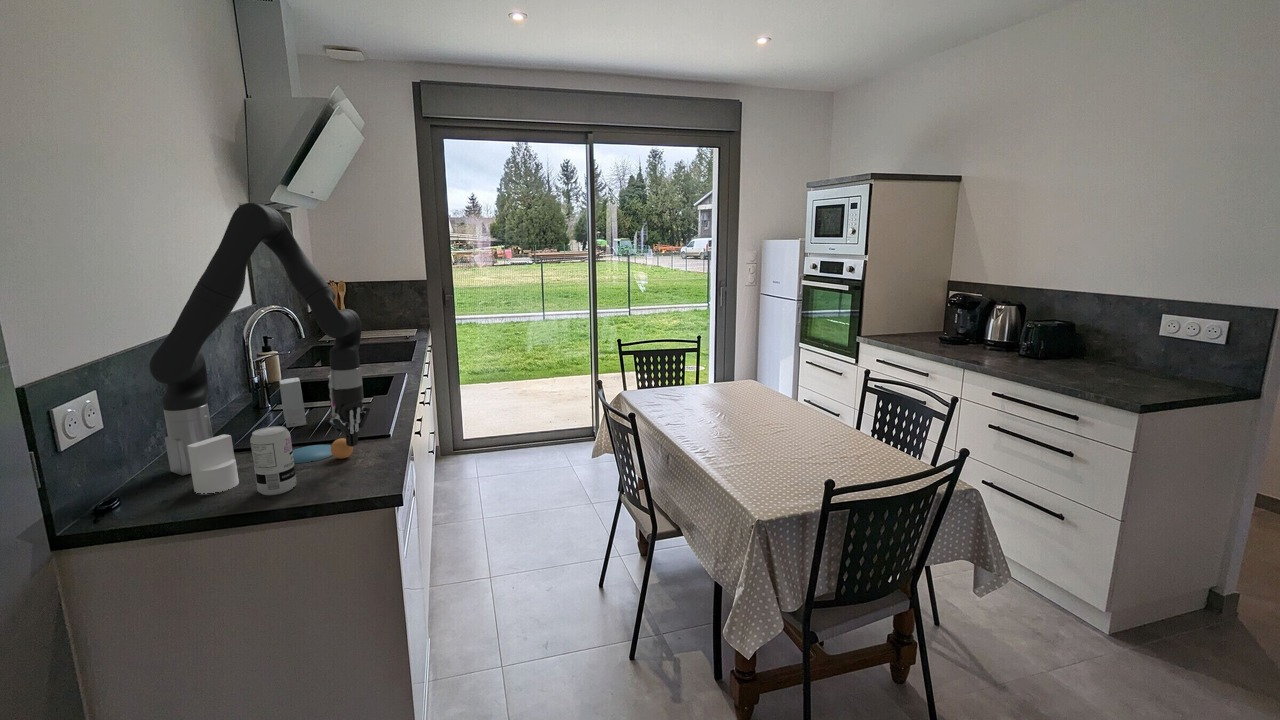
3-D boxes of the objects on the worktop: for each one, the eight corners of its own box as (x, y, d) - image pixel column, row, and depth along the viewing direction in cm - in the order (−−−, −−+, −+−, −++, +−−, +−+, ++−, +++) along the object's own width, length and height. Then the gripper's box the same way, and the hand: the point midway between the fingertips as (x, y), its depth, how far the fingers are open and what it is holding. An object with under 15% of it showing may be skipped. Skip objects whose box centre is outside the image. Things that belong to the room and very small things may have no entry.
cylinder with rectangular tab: (223, 477, 151) (216, 432, 148) (247, 482, 147) (240, 437, 145) (185, 491, 142) (177, 444, 140) (210, 496, 139) (202, 448, 137)
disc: (302, 466, 157) (301, 465, 157) (271, 457, 164) (270, 457, 164) (348, 450, 169) (348, 449, 169) (318, 442, 176) (318, 441, 176)
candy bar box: (349, 423, 194) (343, 375, 191) (332, 425, 192) (326, 376, 189) (352, 414, 204) (347, 368, 201) (336, 415, 203) (331, 369, 199)
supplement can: (254, 489, 143) (245, 430, 140) (291, 479, 149) (284, 423, 146) (262, 499, 138) (253, 438, 135) (301, 489, 143) (293, 430, 140)
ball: (331, 439, 159) (322, 452, 161) (346, 454, 159) (337, 465, 162) (346, 431, 164) (337, 442, 167) (360, 444, 164) (352, 456, 167)
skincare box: (307, 425, 192) (301, 381, 189) (285, 428, 189) (279, 383, 186) (304, 418, 199) (299, 376, 196) (284, 421, 196) (278, 378, 193)
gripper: (354, 377, 165) (359, 436, 168) (315, 388, 152) (322, 452, 156) (376, 380, 162) (381, 439, 166) (338, 391, 150) (344, 455, 153)
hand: (352, 445), depth 161 cm, fingers closed
